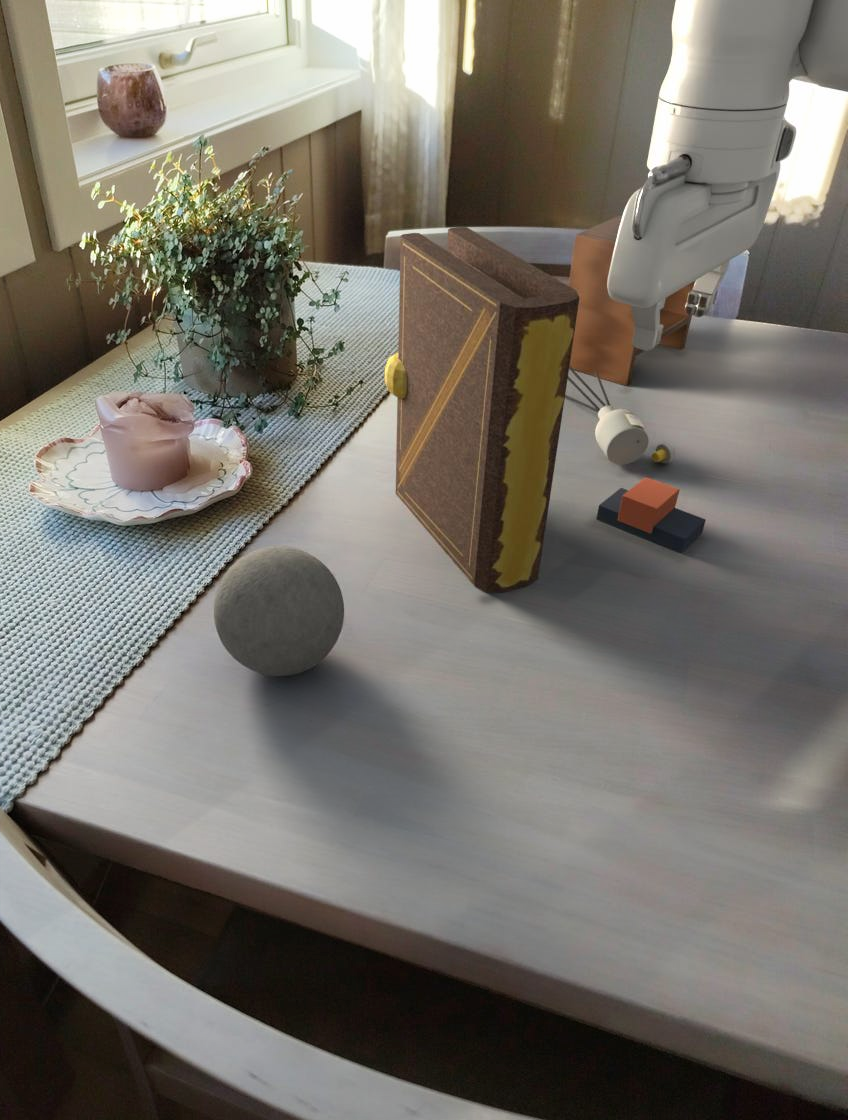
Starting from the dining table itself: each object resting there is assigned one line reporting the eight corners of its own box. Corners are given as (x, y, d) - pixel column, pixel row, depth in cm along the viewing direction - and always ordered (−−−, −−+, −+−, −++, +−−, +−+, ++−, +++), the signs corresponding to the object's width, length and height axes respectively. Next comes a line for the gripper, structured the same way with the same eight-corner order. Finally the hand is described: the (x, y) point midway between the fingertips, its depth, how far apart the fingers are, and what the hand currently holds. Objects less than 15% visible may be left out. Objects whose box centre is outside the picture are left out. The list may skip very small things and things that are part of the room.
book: (556, 577, 80) (603, 296, 64) (472, 600, 78) (499, 313, 62) (446, 465, 96) (462, 216, 80) (374, 481, 94) (374, 227, 77)
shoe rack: (684, 347, 120) (714, 220, 110) (626, 386, 111) (652, 251, 101) (618, 329, 125) (640, 205, 115) (557, 364, 116) (575, 234, 106)
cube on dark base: (702, 533, 86) (711, 500, 84) (680, 553, 83) (689, 521, 81) (618, 500, 90) (625, 469, 88) (595, 519, 88) (601, 487, 85)
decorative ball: (201, 689, 69) (183, 586, 63) (248, 612, 77) (236, 512, 70) (323, 713, 67) (318, 609, 61) (359, 632, 75) (358, 531, 68)
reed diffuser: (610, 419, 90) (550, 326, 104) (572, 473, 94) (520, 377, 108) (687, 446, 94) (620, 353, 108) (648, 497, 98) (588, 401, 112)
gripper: (689, 179, 58) (647, 380, 67) (805, 127, 70) (757, 305, 79) (603, 164, 62) (574, 358, 71) (728, 117, 73) (690, 289, 82)
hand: (672, 329), depth 75 cm, fingers open, 8 cm apart
